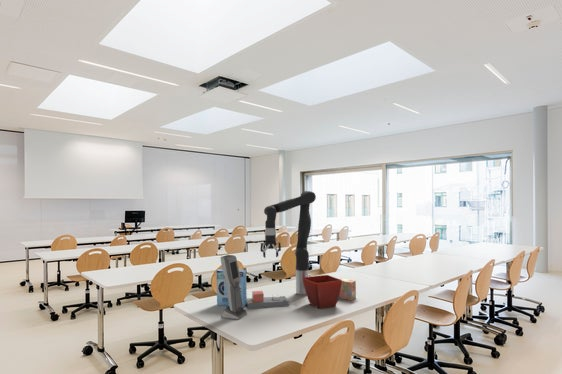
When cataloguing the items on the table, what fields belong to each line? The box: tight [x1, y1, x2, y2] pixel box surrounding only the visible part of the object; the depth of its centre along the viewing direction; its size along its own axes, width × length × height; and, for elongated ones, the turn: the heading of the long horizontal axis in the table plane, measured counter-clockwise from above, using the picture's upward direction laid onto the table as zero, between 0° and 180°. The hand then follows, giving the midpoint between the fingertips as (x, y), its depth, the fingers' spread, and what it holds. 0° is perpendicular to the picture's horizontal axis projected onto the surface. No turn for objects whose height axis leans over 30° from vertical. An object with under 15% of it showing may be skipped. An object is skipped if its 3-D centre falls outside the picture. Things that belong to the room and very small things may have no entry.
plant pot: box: [303, 274, 342, 309], centre depth 221 cm, size 19×19×17 cm
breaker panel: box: [246, 295, 289, 309], centre depth 223 cm, size 26×12×4 cm, turn 100°
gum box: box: [216, 268, 248, 308], centre depth 223 cm, size 20×5×23 cm, turn 72°
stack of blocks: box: [338, 278, 357, 301], centre depth 239 cm, size 21×6×12 cm, turn 50°
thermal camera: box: [220, 254, 248, 321], centre depth 203 cm, size 12×13×35 cm
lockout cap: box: [251, 290, 265, 302], centre depth 222 cm, size 7×8×5 cm
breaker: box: [271, 294, 280, 301], centre depth 225 cm, size 4×5×2 cm
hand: (270, 257), depth 240 cm, fingers open, 8 cm apart
